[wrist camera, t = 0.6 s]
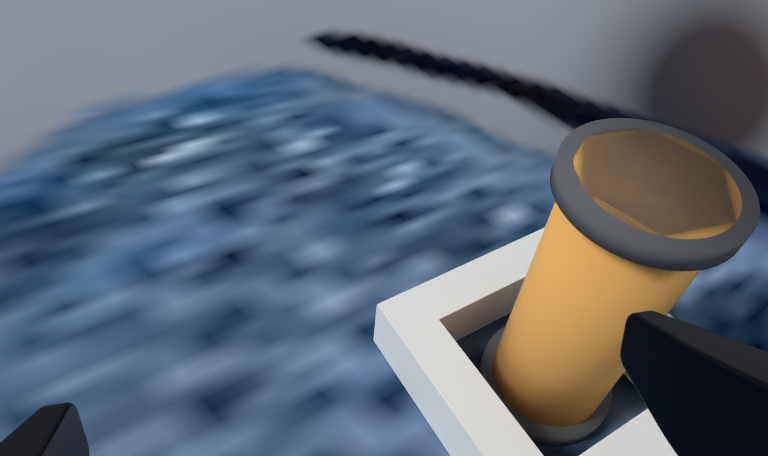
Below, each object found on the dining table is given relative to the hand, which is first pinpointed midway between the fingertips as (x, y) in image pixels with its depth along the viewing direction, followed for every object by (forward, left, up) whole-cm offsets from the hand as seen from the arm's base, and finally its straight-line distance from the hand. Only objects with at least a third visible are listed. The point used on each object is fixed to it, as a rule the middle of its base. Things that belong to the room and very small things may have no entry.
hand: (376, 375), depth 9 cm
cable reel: (+3, -12, -16) cm, 20 cm away
